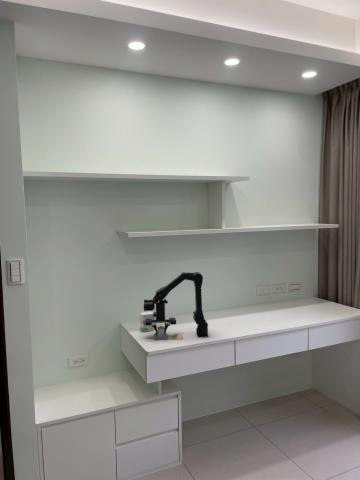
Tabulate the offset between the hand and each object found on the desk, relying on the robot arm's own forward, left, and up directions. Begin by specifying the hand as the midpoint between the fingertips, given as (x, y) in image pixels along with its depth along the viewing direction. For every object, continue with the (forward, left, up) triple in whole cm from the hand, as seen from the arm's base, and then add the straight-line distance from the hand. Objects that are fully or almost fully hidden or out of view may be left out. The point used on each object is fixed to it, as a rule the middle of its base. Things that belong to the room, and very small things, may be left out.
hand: (160, 335), depth 228 cm
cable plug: (0, 0, -2) cm, 2 cm away
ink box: (+8, -14, -2) cm, 16 cm away
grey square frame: (0, 0, -2) cm, 2 cm away
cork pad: (-9, 0, -2) cm, 9 cm away
